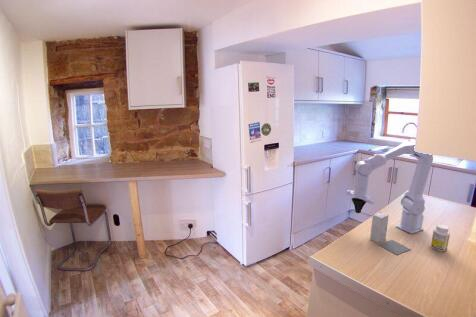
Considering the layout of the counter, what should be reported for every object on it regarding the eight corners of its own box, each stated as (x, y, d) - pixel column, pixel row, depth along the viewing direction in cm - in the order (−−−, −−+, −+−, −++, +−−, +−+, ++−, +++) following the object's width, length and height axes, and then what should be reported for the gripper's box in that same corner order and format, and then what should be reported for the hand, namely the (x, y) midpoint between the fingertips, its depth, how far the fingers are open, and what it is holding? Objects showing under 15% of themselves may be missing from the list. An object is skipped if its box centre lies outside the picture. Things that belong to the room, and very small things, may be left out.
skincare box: (378, 243, 118) (382, 218, 115) (369, 238, 122) (372, 214, 119) (386, 239, 121) (389, 214, 118) (376, 235, 125) (379, 211, 122)
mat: (392, 240, 121) (392, 239, 121) (410, 249, 113) (410, 249, 113) (378, 244, 117) (378, 244, 117) (396, 255, 109) (396, 254, 109)
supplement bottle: (440, 244, 117) (444, 223, 114) (449, 251, 112) (454, 229, 109) (427, 244, 117) (431, 223, 114) (436, 251, 112) (441, 230, 109)
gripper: (343, 183, 132) (340, 208, 135) (367, 192, 119) (364, 220, 122) (353, 181, 135) (350, 205, 138) (378, 190, 122) (375, 217, 125)
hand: (357, 212), depth 130 cm, fingers closed
